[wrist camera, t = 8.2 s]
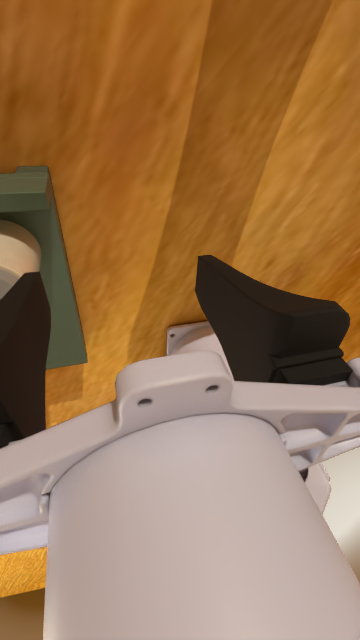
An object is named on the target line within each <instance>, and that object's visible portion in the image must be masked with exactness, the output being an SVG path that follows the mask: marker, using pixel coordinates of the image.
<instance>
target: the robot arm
mask: <svg viewBox="0 0 360 640" xmlns="http://www.w3.org/2000/svg"><path fill="white" fill-rule="evenodd" d="M195 292H196V295H197V298H198V301H199V303H200V306H201V308H202V310H203V312H204V314H205V316H206V318H207V320H208V321H206V322H199V323H192V324H184V325H177V326H171V327H169V328H168V330H167V353H166V356H164V357H158V358H152V359H146V360H140V361H138V362H135V363H132V364H129V365H127V366H126V367H125V368H124V369H123V370H122V371H120V372H119V373H118V374H117V378H116V382H115V388H116V399H115V400H114V401H112V402H109V403H107V404H105V405H102V406H100V407H98V408H95V409H93V410H90V411H88V412H86V413H83V414H81V415H79V416H76V417H74V418H72V419H69V420H67V421H65V422H62V423H60V424H57V425H55V426H53V427H50V428H48V429H46V422H45V371H46V362H47V355H48V347H49V340H50V332H51V308H50V305H49V301H48V298H47V295H46V291H45V288H44V284H43V281H42V278H41V274H40V271H39V272H28V273H24V274H23V275H22V276H21V277H20V278H19V280H18V281H17V282H16V283H15V284H14V285H13V286H12V288H11V289H10V290H9V291H8V292H7V293H6V294H5V295H4V296H3V297H2V298H1V299H0V555H3V554H9V553H15V552H20V551H26V550H32V549H37V548H43V547H47V566H46V589H45V610H44V632H43V640H360V584H359V581H358V580H357V578H356V576H355V574H354V572H353V570H352V569H351V567H350V565H349V563H348V561H347V560H346V558H345V556H344V554H343V552H342V550H341V549H340V547H339V545H338V543H337V541H336V539H335V538H334V536H333V534H332V532H331V530H330V528H329V526H328V525H327V523H326V521H325V519H324V518H323V515H322V514H323V512H324V509H325V506H326V504H327V501H328V498H329V496H330V492H331V486H330V484H329V481H330V477H329V475H328V473H327V472H326V470H325V468H324V466H323V464H322V463H321V462H322V461H325V460H328V459H330V458H332V457H335V456H337V455H339V454H342V453H345V452H347V451H350V450H352V449H355V448H358V447H360V357H358V358H354V359H351V360H350V361H348V362H347V363H346V362H345V361H344V360H343V359H342V357H343V355H344V353H343V351H342V350H341V349H340V348H339V346H340V344H341V342H342V340H343V338H344V336H345V334H346V332H347V330H348V328H349V325H350V317H349V314H348V313H347V312H346V311H345V310H344V309H343V308H342V307H341V306H340V305H339V304H337V303H336V302H335V301H328V300H321V299H315V298H310V297H305V296H300V295H296V294H292V293H289V292H286V291H282V290H279V289H276V288H273V287H271V286H268V285H266V284H263V283H261V282H259V281H257V280H254V279H252V278H251V277H249V276H247V275H245V274H243V273H241V272H239V271H237V270H236V269H234V268H232V267H231V266H229V265H227V264H226V263H224V262H222V261H221V260H219V259H217V258H216V257H214V256H212V255H203V256H198V264H197V276H196V287H195ZM171 334H173V335H171ZM300 474H301V475H300Z"/></svg>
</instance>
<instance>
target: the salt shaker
mask: <svg viewBox="0 0 360 640" xmlns="http://www.w3.org/2000/svg"><path fill="white" fill-rule="evenodd" d="M41 262H42V252H41V248H40V245H39V243H38V241H37V240H36V238H35V237H34V236H33V235H32V234H31V233H30V232H29V231H28V230H26V229H25V228H24V227H22V226H20V225H18V224H16V223H14V222H11V221H7V220H1V219H0V299H1V298H2V297H3V296H4V295H5V294H6V293H7V292H8V291H9V290H10V289H11V288H12V286H13V285H14V284H15V283H16V282H17V281H18V280H19V278H20V277H21V276H22V275H23V274H24V273H28V272H39V271H40V269H41Z"/></svg>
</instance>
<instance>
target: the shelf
mask: <svg viewBox="0 0 360 640" xmlns="http://www.w3.org/2000/svg"><path fill="white" fill-rule="evenodd" d="M0 219H1V220H7V221H11V222H14V223H16V224H18V225H20V226H22V227H24V228H25V229H26V230H28V231H29V232H30V233H31V234H32V235H33V236H34V237H35V238H36V240H37V241H38V243H39V245H40V248H41V252H42V262H41V269H40V274H41V278H42V281H43V284H44V288H45V291H46V295H47V298H48V301H49V305H50V308H51V332H50V340H49V347H48V355H47V362H46V369H52V368H58V367H64V366H71V365H77V364H83V363H87V353H86V347H85V340H84V336H83V331H82V326H81V321H80V316H79V312H78V307H77V302H76V297H75V292H74V288H73V283H72V278H71V273H70V269H69V264H68V259H67V254H66V249H65V245H64V240H63V235H62V230H61V225H60V221H59V216H58V211H57V206H56V201H55V197H54V192H53V187H52V182H51V178H50V173H49V168H48V166H18V167H17V170H16V172H15V173H3V174H0Z"/></svg>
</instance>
